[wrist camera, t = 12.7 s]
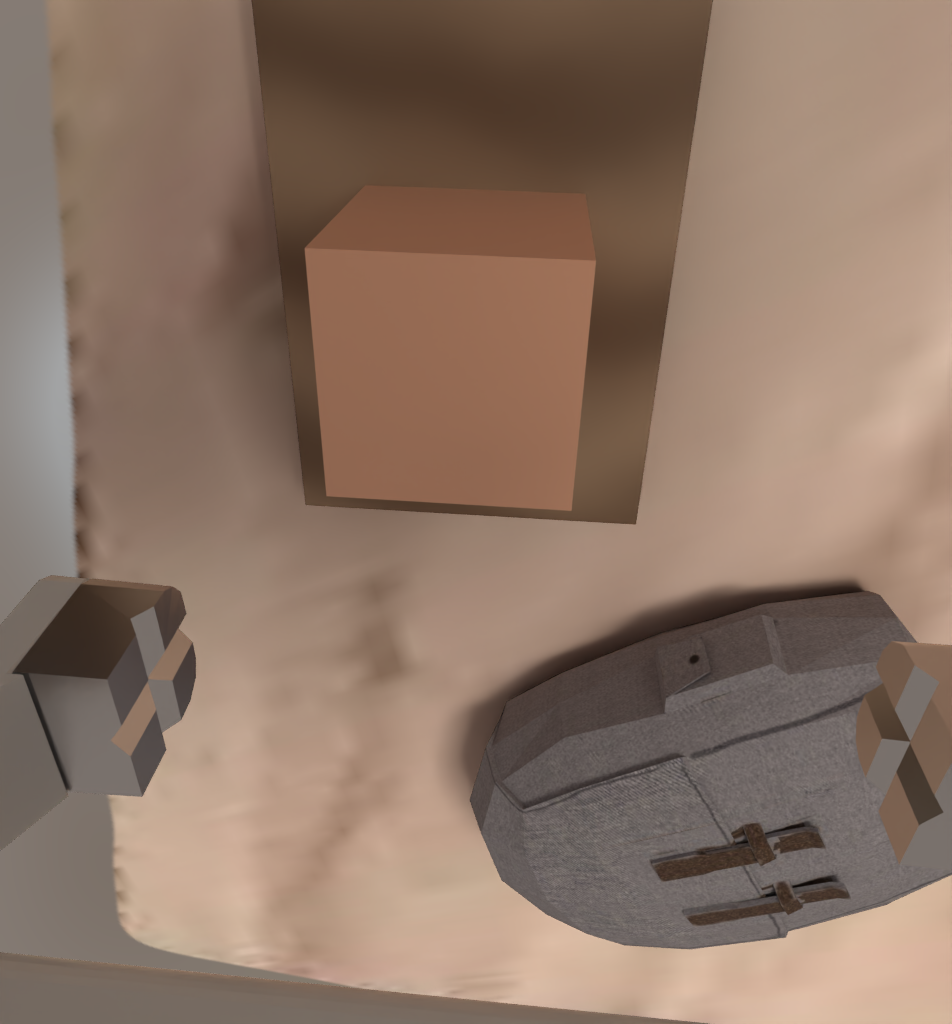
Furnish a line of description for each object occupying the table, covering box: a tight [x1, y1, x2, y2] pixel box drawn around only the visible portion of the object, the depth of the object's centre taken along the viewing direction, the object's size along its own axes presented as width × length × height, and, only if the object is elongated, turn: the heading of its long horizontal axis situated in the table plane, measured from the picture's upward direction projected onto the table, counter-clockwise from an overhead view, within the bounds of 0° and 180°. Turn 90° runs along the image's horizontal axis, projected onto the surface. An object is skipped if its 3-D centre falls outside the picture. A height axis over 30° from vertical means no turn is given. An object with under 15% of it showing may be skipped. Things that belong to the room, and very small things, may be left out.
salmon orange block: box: [305, 185, 596, 511], centre depth 23 cm, size 6×6×7 cm
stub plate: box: [252, 0, 713, 524], centre depth 24 cm, size 16×12×6 cm
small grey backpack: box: [470, 591, 952, 949], centre depth 34 cm, size 15×8×20 cm
